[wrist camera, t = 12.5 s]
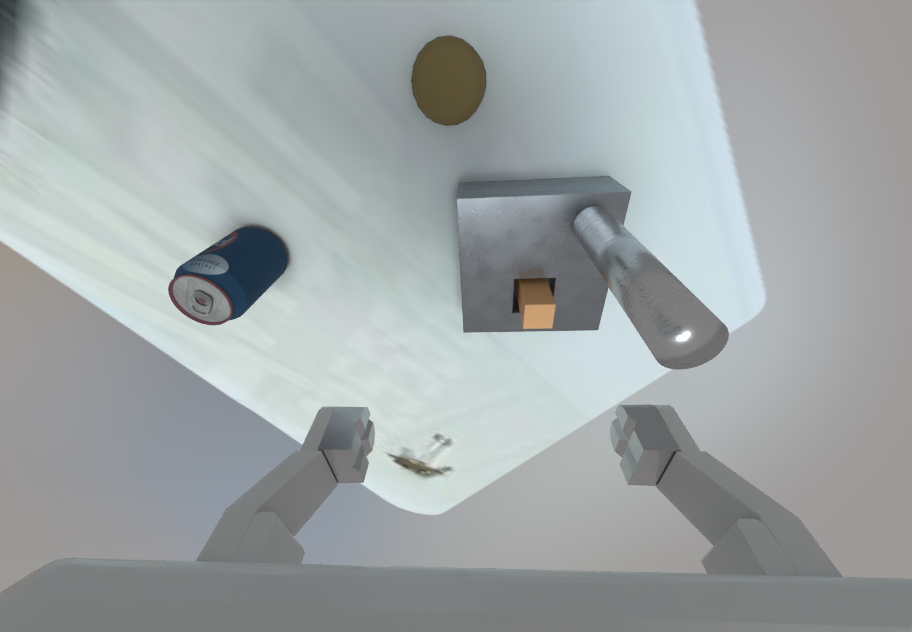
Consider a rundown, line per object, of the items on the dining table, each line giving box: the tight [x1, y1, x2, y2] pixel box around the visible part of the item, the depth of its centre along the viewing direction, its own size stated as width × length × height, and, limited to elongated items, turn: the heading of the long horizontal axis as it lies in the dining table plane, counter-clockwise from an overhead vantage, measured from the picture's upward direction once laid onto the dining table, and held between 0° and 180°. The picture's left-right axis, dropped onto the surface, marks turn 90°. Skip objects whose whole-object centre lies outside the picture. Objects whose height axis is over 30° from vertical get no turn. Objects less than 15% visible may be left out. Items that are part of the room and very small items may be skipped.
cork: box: [411, 36, 486, 126], centre depth 27 cm, size 6×6×11 cm
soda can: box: [168, 227, 287, 325], centre depth 37 cm, size 7×7×12 cm
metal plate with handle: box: [457, 176, 729, 369], centre depth 31 cm, size 16×16×24 cm
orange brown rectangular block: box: [514, 278, 556, 329], centre depth 38 cm, size 3×3×10 cm
